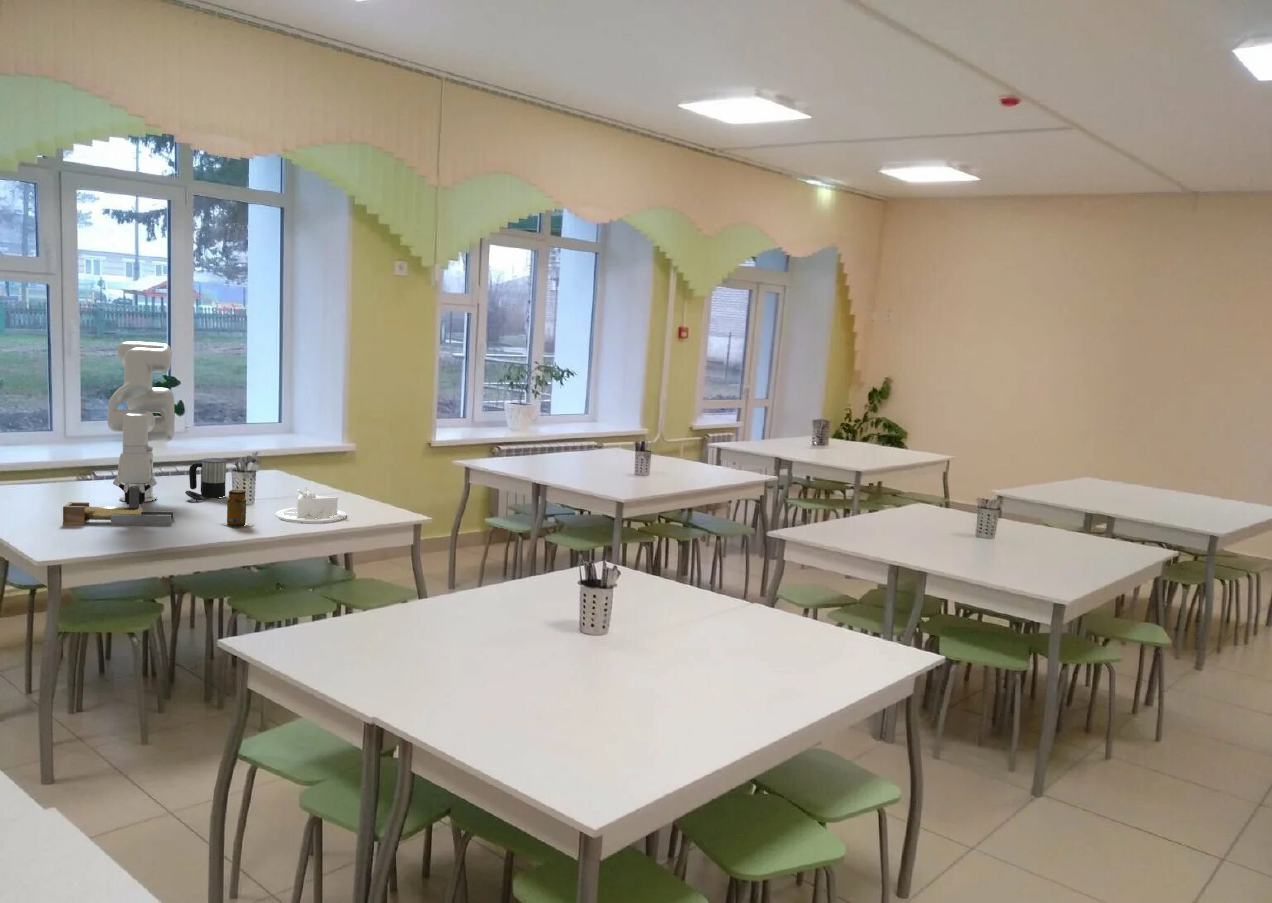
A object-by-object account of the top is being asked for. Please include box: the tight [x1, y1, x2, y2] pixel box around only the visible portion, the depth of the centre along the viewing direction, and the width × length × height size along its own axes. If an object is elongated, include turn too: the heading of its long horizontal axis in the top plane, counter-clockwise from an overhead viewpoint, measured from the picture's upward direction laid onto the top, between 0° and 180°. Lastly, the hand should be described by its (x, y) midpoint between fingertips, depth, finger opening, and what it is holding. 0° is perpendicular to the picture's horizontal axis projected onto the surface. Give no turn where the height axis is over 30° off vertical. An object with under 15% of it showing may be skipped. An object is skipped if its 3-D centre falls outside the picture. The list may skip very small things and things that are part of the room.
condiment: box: [221, 489, 254, 529], centre depth 331 cm, size 7×8×12 cm
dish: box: [274, 484, 347, 524], centre depth 354 cm, size 25×25×11 cm
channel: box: [110, 510, 175, 526], centre depth 325 cm, size 8×18×3 cm, turn 108°
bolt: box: [85, 486, 143, 521], centre depth 321 cm, size 4×20×11 cm, turn 108°
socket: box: [62, 501, 90, 526], centre depth 319 cm, size 8×6×6 cm
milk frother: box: [184, 457, 228, 502], centre depth 371 cm, size 14×16×15 cm
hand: (134, 503), depth 324 cm, fingers closed on bolt, 3 cm apart
